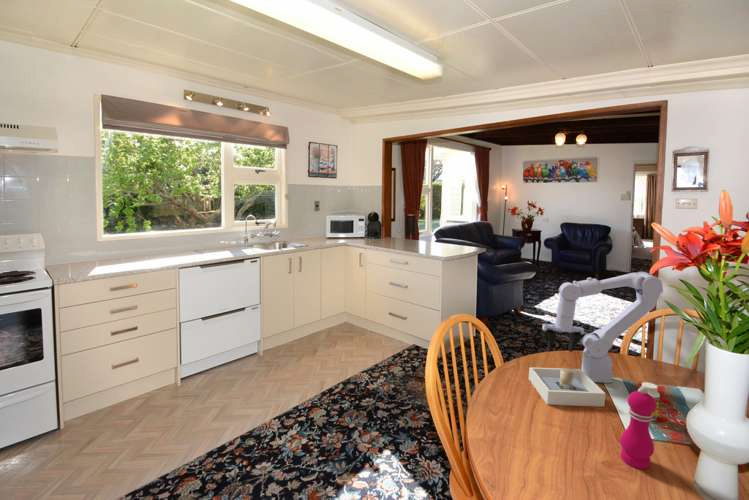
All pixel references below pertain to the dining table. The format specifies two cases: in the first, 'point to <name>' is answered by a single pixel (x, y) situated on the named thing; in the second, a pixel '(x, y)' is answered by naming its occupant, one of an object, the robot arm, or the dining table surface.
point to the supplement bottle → (653, 392)
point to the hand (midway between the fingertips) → (559, 350)
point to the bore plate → (554, 385)
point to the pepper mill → (638, 430)
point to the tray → (567, 397)
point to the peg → (566, 379)
